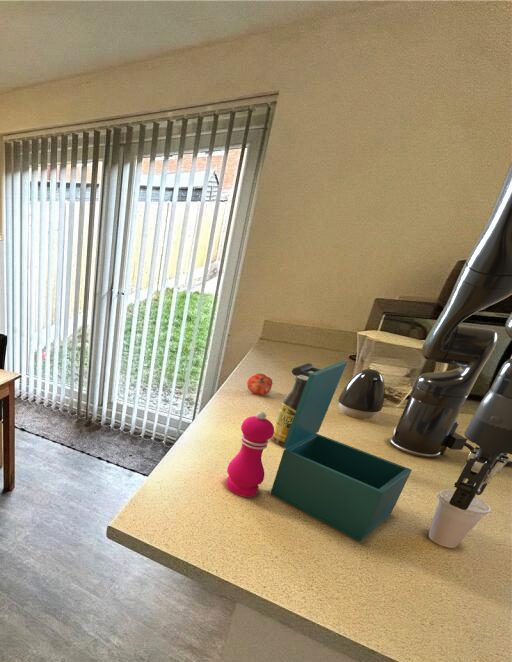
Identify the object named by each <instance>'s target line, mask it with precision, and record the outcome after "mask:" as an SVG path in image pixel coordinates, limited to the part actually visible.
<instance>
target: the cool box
mask: <svg viewBox="0 0 512 662" xmlns="http://www.w3.org/2000/svg"><path fill="white" fill-rule="evenodd" d="M412 471H413V469H412V468H409V467H407V466H403V465H400V464H398V463H396V462H392V461H390V460H387V459H385V458H383V457H380V456H377V455H375V454H372V453H370V452H366V451H364V450H362V449H358V448H357V447H354V446H352V445H351V446H350V445H349V444H346V443H343V442H340V441H338V440H335V439H333V438H330V437H327V436H325V435H322V434H319V433H318V432H317V433H316V434H314V435H312V436H310V437H308V438H306V439H304V440H302V441H300V442H299V443H297V444H295V445H293V446H291V447H289V448H287V449H285V448H284V449H283V451H282V455H281V458H280V461H279V464H278V467H277V471H276V474H275V477H274V481H273V484H272V487H271V490H270V495H271V496H273V497H275V498H276V499H279V500H281V501H282V502H284V503H286V504H288V505H290V506H292V507H294V508H295V509H297V510H299V511H301V512H303V513H305V514H307V515H309V516H311V518H312V517H313V518H315V519H316V520H318V521H320V522H322V523H324V524H325V525H327V526H329V527H331V528H333V529H335V530H336V531H338V532H340V533H342V534H345V535H346V536H348V537H349V538H352V539H354V540H355V541H358V542H362V541H363V540H364V539H365V538H367V537H368V536H369V535H370V534H371V533H373V532H374V531H375V530H376V529H377V528H378V527H380V526H381V525H382V524H383V523H384V522H385V521H386V520H388V519H389V518H390V517H391V515H392V513H393V510H394V508H395V507H396V504H397V503H398V500H399V498H400V496H401V494H402V492H403V490H404V488H405V485H406V483H407V482H408V479H409V477H410V476H411V473H412Z"/></svg>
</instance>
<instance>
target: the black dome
mask: <svg viewBox="0 0 512 662" xmlns="http://www.w3.org/2000/svg"><path fill="white" fill-rule="evenodd" d="M385 386H386V385H385V380H384V377H383V375H382V373H381V372H380V371H379V370H377V369H372V368H366V369H365V368H364V369H362V370H360V371H359V372H357V373H356V374H355V375H354V376H353V377H351V379H350V380H349V381H348V382H347V383H346V385H345V386H344V388H343V390H342V391H341V393H340V394H339V396H338V399H337V401H338V407H339V409H340V411H341V412H342V414H344V415H346V416H349V417H351V418H353V419H362V420H363V419H364V420H366V419H370V418H373V417H375V416H376V415H377V414H378V413H380V412H381V411H382V410H383V407H384V403H385V395H386V393H385V392H386V391H385V389H386V388H385Z"/></svg>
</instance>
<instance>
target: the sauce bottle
mask: <svg viewBox="0 0 512 662" xmlns="http://www.w3.org/2000/svg"><path fill="white" fill-rule="evenodd" d="M308 378H309V377H307V376H304V375H299V376H296V377H295V378H294V384H293V387H292V389H291V390H290V391H289V393H288V394H287V395H286V397H284V399H283V401H282V402H281V405H280V407H279V410H278V413H277V415H276V419H275V423H274V424H273V426H274V434H273V436H272V437H271V438H270V439H271V441H272V442H273V443H275V444H277V445H279V446H281V447H283V445H284V442H285V439H286V437H287V434H288V431H289V429H290V426H291V423H292V421H293V418H294V415H295V413H296V410H297V407H298V404H299V402H300V399H301V396H302V394H303V391H304V388H305V386H306V383H307V380H308Z"/></svg>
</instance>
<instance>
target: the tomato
mask: <svg viewBox="0 0 512 662" xmlns="http://www.w3.org/2000/svg"><path fill="white" fill-rule="evenodd" d="M246 385H247V389H248V391H249V392H250V393H252V394H255V395H262V396H265V395H266V394H268V393H269V392H270V391H271V390H272V386H273V379H272V378H271V377H269V376H267V375H266V374H264V373H254V374H252V376H250V377H248V379H247V381H246Z"/></svg>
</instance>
